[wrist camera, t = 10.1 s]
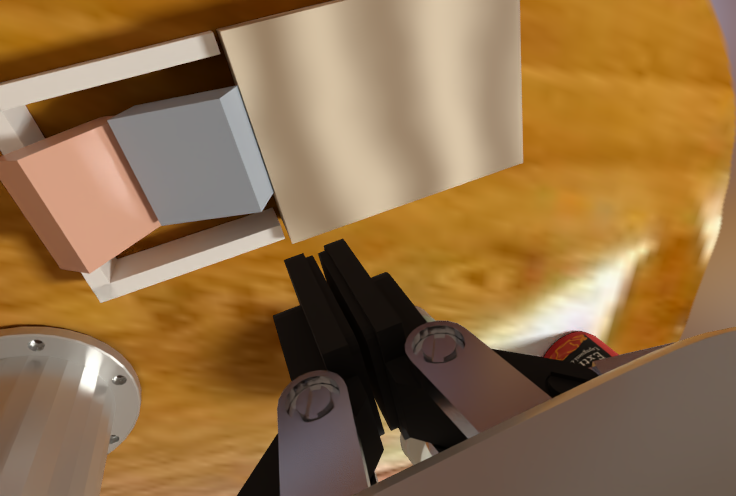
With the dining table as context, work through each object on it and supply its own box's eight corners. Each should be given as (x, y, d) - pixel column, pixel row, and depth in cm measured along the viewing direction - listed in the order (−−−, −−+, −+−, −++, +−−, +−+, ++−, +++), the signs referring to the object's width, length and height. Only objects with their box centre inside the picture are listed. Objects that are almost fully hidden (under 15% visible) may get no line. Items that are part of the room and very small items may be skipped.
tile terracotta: (177, 214, 26) (149, 212, 28) (130, 114, 23) (100, 117, 24) (89, 273, 22) (60, 268, 23) (16, 160, 19) (-13, 161, 20)
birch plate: (281, 218, 31) (292, 243, 27) (216, 29, 24) (220, 31, 21) (490, 147, 34) (522, 162, 30) (479, -37, 28) (518, -43, 24)
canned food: (574, 318, 47) (668, 392, 37) (606, 345, 51) (698, 418, 42) (524, 371, 48) (604, 456, 39) (559, 393, 52) (639, 475, 43)
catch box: (108, 277, 28) (100, 302, 26) (-12, 85, 22) (-37, 94, 20) (277, 220, 31) (285, 238, 28) (210, 30, 24) (213, 32, 22)
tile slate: (181, 204, 27) (161, 225, 25) (134, 105, 24) (106, 120, 22) (274, 191, 26) (261, 212, 24) (238, 85, 23) (219, 98, 21)
